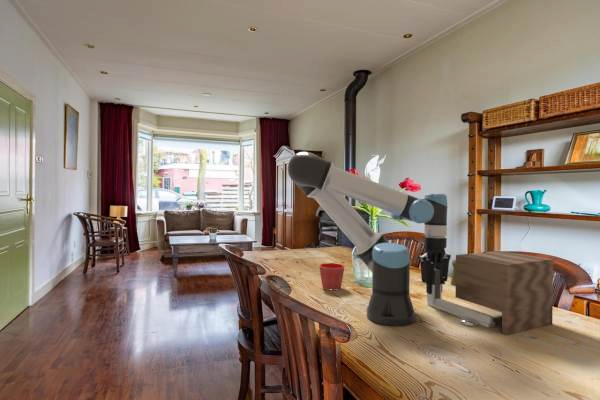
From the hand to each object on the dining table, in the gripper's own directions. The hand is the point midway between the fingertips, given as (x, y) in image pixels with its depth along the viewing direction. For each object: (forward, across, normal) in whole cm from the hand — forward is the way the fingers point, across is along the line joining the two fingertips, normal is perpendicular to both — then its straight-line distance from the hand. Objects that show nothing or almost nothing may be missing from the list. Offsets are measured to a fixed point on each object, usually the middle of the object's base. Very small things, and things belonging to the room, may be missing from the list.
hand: (434, 301), depth 128 cm
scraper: (+1, 0, +10) cm, 10 cm away
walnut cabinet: (+1, -9, +20) cm, 22 cm away
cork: (+1, -33, -18) cm, 37 cm away
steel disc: (+1, +4, +18) cm, 18 cm away
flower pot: (+2, +21, -36) cm, 42 cm away
